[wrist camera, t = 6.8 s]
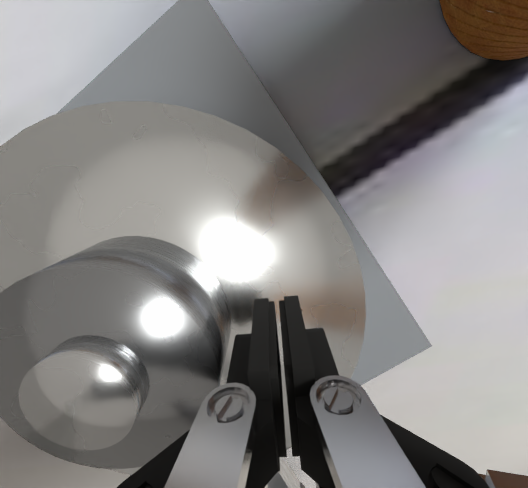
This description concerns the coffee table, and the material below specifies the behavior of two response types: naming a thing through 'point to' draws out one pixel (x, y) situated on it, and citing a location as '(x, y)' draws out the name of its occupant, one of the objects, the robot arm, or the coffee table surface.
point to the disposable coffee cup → (489, 26)
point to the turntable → (184, 215)
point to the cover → (112, 351)
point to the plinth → (257, 122)
